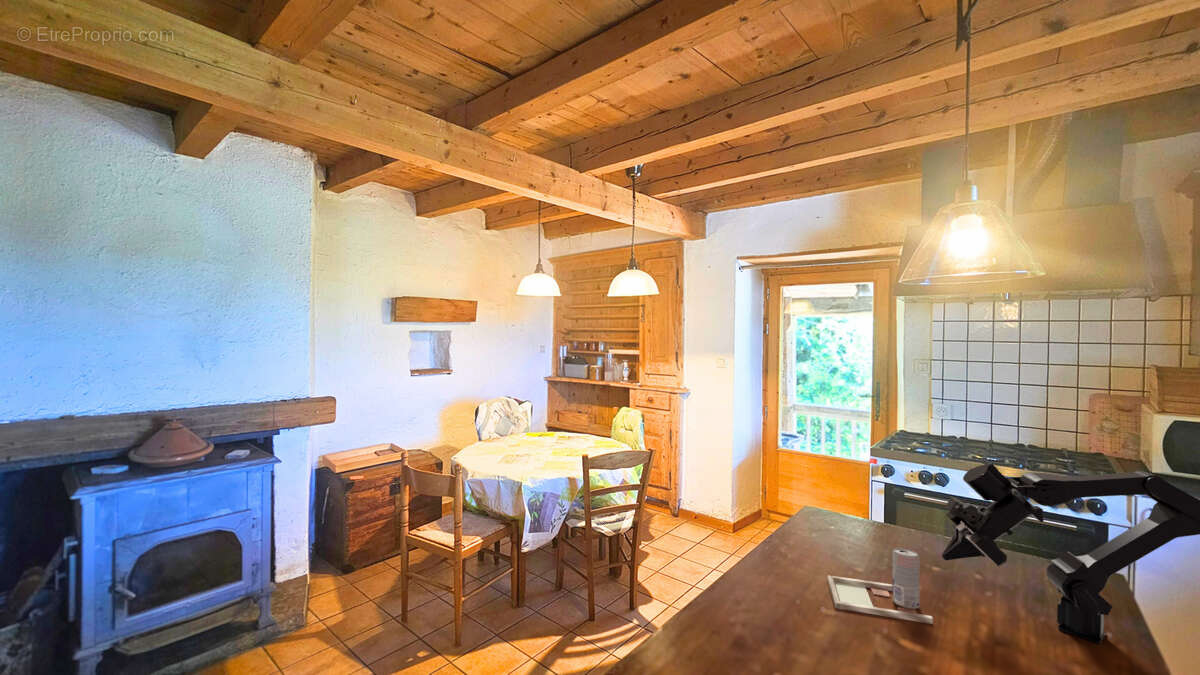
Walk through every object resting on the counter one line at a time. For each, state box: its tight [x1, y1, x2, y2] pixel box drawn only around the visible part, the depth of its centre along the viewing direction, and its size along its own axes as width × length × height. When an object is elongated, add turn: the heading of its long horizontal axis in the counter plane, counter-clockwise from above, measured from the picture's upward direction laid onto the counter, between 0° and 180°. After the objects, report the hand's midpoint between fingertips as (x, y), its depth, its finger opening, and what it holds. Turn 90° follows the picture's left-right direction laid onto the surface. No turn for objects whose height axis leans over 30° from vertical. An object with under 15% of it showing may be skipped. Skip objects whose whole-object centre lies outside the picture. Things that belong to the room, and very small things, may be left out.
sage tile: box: [834, 582, 874, 607], centre depth 120 cm, size 7×12×1 cm, turn 162°
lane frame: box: [827, 575, 934, 625], centre depth 118 cm, size 20×14×1 cm
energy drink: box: [892, 547, 920, 610], centre depth 117 cm, size 5×5×12 cm
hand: (943, 558), depth 114 cm, fingers closed
